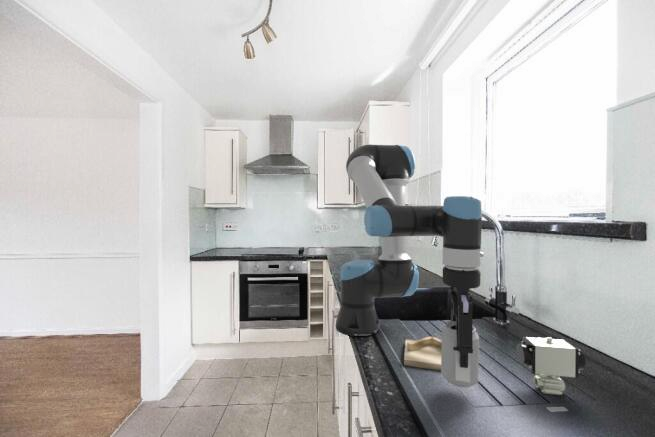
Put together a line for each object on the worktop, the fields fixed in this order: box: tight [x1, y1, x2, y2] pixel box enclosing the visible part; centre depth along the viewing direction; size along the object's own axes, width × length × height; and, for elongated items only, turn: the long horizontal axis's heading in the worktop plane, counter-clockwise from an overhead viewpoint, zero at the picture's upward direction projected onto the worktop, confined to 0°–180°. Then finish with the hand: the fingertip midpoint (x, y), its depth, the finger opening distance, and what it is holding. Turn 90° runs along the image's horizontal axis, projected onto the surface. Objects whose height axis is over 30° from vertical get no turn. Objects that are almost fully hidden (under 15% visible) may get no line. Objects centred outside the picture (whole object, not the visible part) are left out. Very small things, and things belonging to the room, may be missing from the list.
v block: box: [403, 336, 442, 371], centre depth 80 cm, size 13×15×4 cm
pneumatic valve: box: [515, 336, 587, 396], centre depth 66 cm, size 6×12×12 cm, turn 78°
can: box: [440, 321, 480, 388], centre depth 64 cm, size 8×8×12 cm
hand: (459, 369), depth 64 cm, fingers closed on can, 7 cm apart
